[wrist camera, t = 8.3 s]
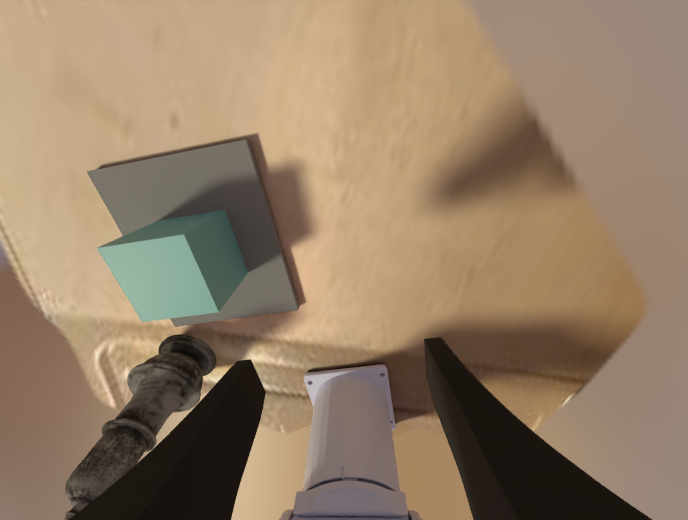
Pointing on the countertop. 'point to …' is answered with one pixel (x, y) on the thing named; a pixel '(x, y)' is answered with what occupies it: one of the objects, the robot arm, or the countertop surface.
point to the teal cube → (178, 266)
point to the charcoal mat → (201, 197)
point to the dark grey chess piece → (142, 416)
